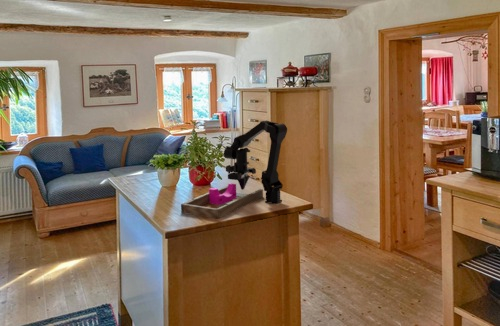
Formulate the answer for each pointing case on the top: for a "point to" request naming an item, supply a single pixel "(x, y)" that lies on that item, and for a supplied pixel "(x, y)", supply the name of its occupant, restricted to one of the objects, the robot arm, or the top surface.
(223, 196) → the toy block
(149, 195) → the top surface
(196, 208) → the wooden tray
